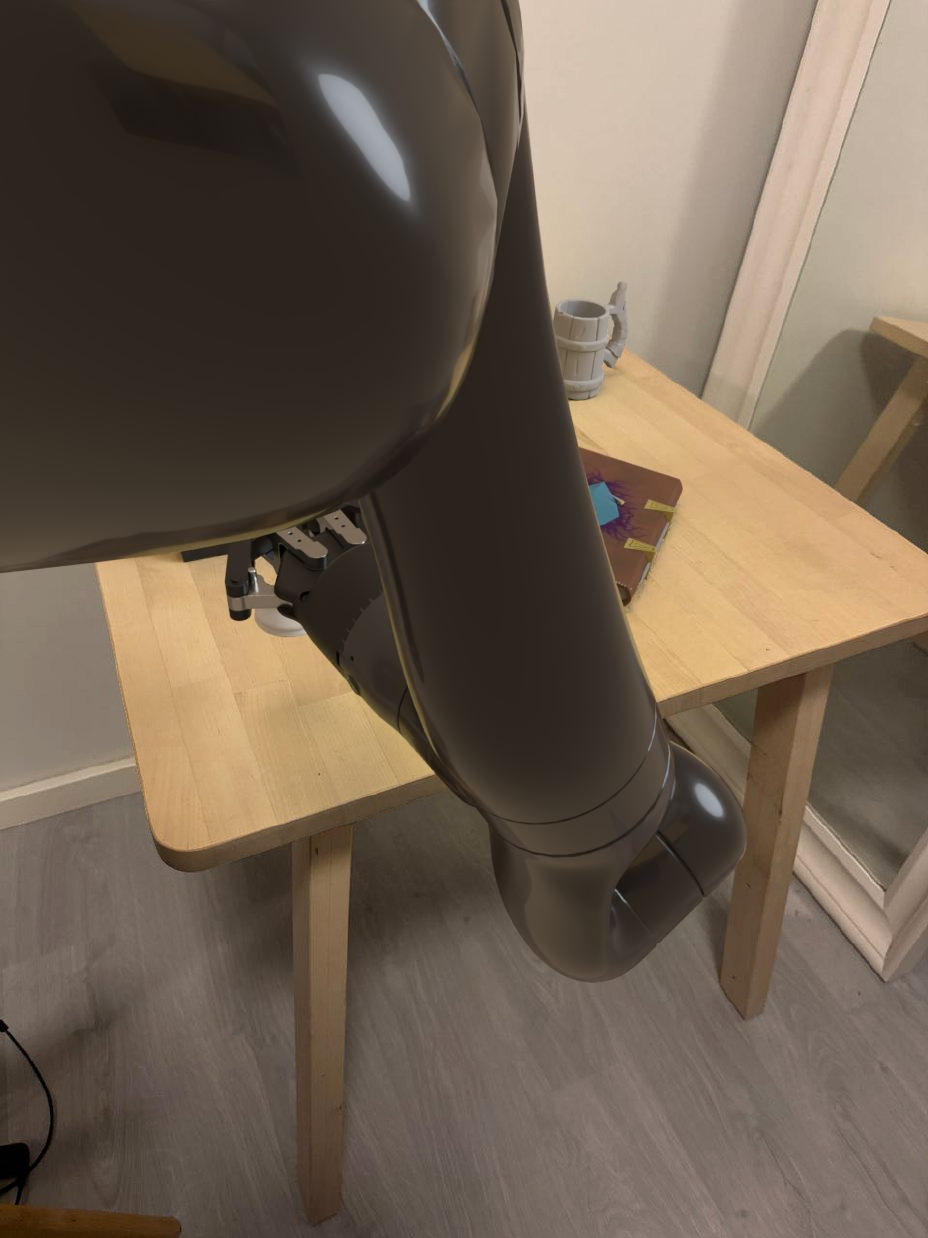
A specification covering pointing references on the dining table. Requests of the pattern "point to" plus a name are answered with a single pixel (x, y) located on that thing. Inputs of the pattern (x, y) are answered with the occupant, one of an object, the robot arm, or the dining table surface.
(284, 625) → the chess piece
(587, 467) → the book
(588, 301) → the mug
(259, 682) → the dining table surface
